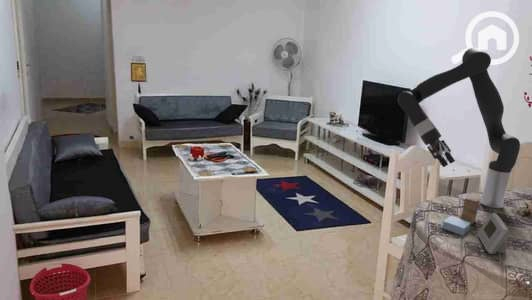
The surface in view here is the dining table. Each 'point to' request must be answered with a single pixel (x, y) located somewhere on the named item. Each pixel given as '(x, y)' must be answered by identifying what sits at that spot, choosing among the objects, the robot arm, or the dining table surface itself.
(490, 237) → the digital clock
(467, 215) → the walnut pillar
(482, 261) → the dining table surface
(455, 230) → the pedestal
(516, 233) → the dining table surface
